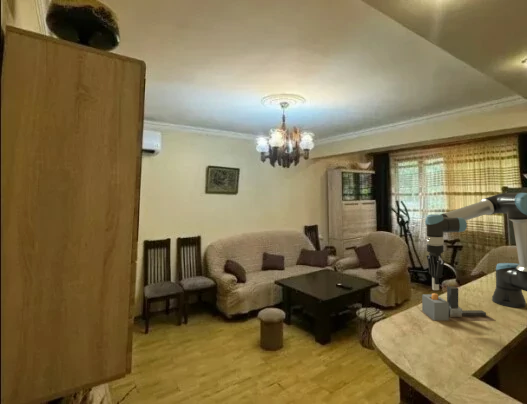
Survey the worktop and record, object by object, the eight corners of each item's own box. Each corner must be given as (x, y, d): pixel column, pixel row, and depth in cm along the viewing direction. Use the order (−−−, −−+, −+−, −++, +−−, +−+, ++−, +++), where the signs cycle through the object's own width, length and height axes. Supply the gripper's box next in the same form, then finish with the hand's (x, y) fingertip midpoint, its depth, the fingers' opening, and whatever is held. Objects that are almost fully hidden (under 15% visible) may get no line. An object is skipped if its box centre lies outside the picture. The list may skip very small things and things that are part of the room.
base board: (478, 311, 161) (478, 310, 161) (496, 322, 148) (496, 320, 148) (419, 312, 161) (419, 310, 161) (432, 322, 148) (432, 320, 148)
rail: (481, 314, 156) (481, 310, 156) (486, 316, 153) (486, 312, 153) (440, 314, 156) (440, 310, 156) (443, 316, 153) (443, 312, 153)
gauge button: (436, 308, 156) (436, 293, 156) (439, 310, 153) (439, 295, 153) (430, 308, 156) (430, 293, 156) (433, 310, 153) (433, 295, 153)
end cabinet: (435, 310, 161) (435, 294, 160) (448, 320, 149) (448, 302, 148) (422, 310, 161) (422, 294, 161) (434, 320, 149) (434, 302, 149)
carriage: (454, 312, 157) (454, 285, 157) (462, 317, 151) (462, 289, 151) (443, 312, 158) (443, 285, 157) (450, 317, 152) (450, 289, 151)
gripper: (421, 242, 160) (421, 285, 161) (434, 246, 147) (435, 294, 148) (435, 242, 160) (436, 285, 161) (449, 246, 147) (450, 293, 148)
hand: (435, 289), depth 154 cm, fingers closed
